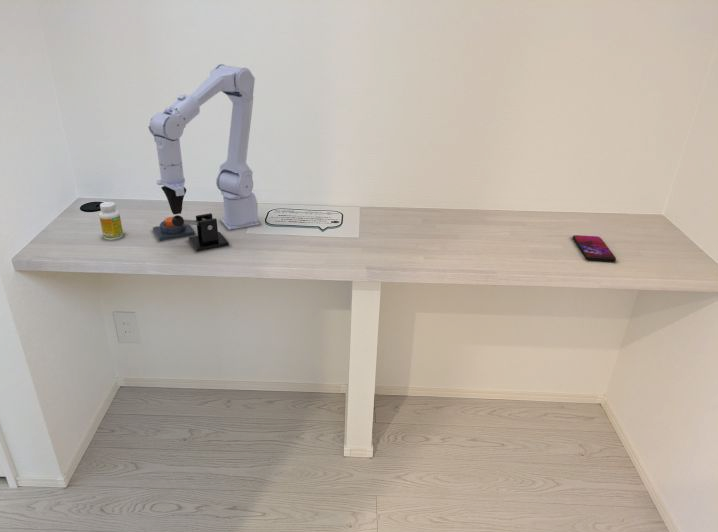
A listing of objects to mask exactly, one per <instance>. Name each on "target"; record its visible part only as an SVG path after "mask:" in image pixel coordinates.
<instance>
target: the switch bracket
mask: <svg viewBox="0 0 718 532" xmlns="http://www.w3.org/2000/svg"><path fill="white" fill-rule="evenodd" d="M201 218H210V219H208V220H202V221H201ZM195 220H197V221H200V225H196V232H197V235H191V236H188V242H189V243H190V244H191V246H192V247H193V249H194V250H195V251H196V253H199V252H204V251H209V250H214V249H219V248H220V249H221V248H224V247H229V245H230V244H229V241H228V240H227V239H226V238H225V237H224V235H223V234H222V233H221V232H220V231H219V229H218V219H217V218H216V217H215V218H213V213H212V212H209V213H203V214H198V215H195Z"/></svg>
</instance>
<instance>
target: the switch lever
mask: <svg viewBox="0 0 718 532" xmlns="http://www.w3.org/2000/svg"><path fill="white" fill-rule="evenodd" d="M172 217H173V218H172V224H173V225H174V226H175V227H181V226H182V225H183V224H187V225H190V226H197V225H200V221H197V220H196V219H195V220H194V219H186V218H185V219H184V217H183V216H181V215H180V214H175V215H174V216H172ZM208 219H210V218H201V221H202V220H208Z"/></svg>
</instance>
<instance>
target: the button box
mask: <svg viewBox="0 0 718 532" xmlns="http://www.w3.org/2000/svg"><path fill="white" fill-rule="evenodd" d="M152 231H153V233H154V234H155V236H156V238H157V239H158V241H159V242H162V241H163V242H164V241H170V240H173V239H180V238H185V237H192V236H195V231H194V230H193V228H192V227H191V225H187V224H183V225H182V226H181V227H167V226H166V225H165V220H163V221H161V222H160V223H159V226H153V227H152Z"/></svg>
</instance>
